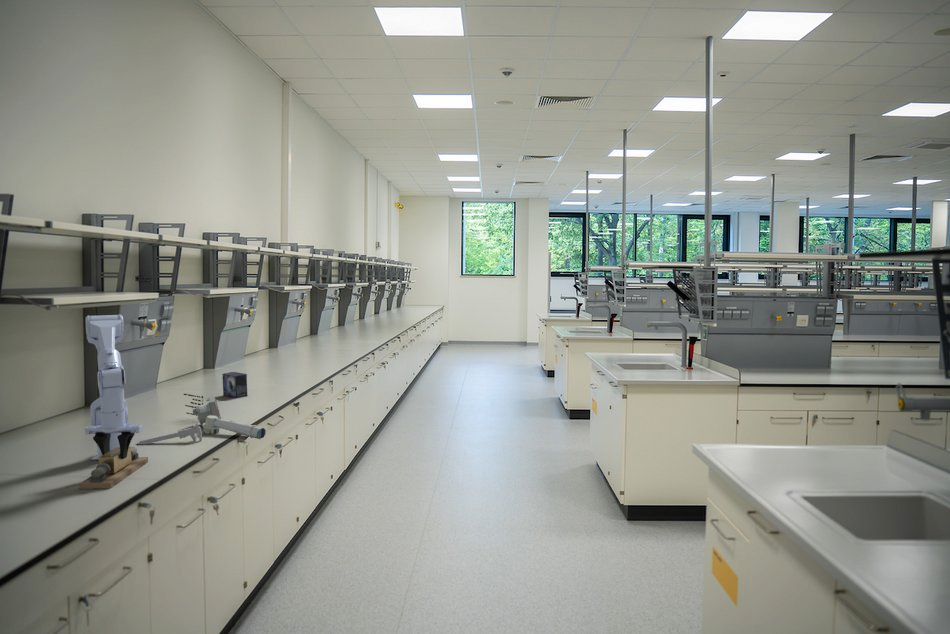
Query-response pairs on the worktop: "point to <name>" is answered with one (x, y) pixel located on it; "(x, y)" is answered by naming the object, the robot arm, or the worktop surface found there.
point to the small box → (234, 384)
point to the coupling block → (115, 459)
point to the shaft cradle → (106, 479)
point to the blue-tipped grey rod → (232, 427)
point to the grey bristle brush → (205, 409)
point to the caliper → (176, 435)
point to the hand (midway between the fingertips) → (115, 458)
